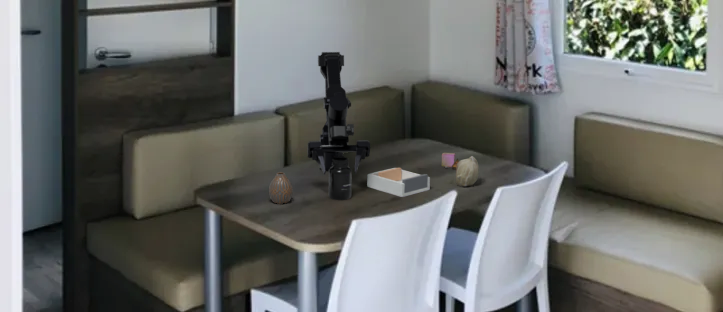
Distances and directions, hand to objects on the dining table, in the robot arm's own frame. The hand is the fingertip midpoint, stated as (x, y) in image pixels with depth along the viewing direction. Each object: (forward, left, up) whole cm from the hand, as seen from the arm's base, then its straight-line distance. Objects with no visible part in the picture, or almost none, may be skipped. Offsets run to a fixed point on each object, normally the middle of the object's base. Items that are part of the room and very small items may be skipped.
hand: (340, 173), depth 287 cm
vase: (-12, -13, -8) cm, 20 cm away
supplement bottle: (0, 0, -8) cm, 8 cm away
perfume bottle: (+13, +53, -8) cm, 55 cm away
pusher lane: (+9, +18, -7) cm, 22 cm away
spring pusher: (+5, +20, -6) cm, 21 cm away
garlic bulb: (+26, +33, -8) cm, 42 cm away
